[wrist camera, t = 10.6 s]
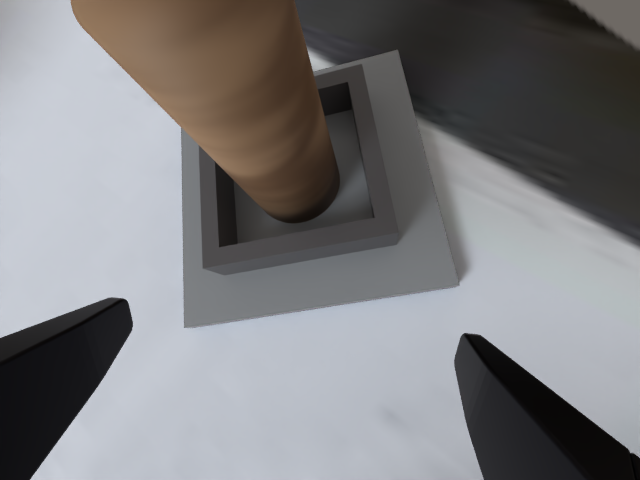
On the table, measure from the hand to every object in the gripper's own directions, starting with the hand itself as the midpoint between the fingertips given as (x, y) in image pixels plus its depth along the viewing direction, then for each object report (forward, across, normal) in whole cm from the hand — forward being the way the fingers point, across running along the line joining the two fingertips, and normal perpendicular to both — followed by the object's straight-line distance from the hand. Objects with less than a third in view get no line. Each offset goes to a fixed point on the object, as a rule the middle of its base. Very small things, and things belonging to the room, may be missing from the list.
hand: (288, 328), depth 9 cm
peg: (+13, +2, -1) cm, 13 cm away
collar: (+14, +2, 0) cm, 14 cm away
